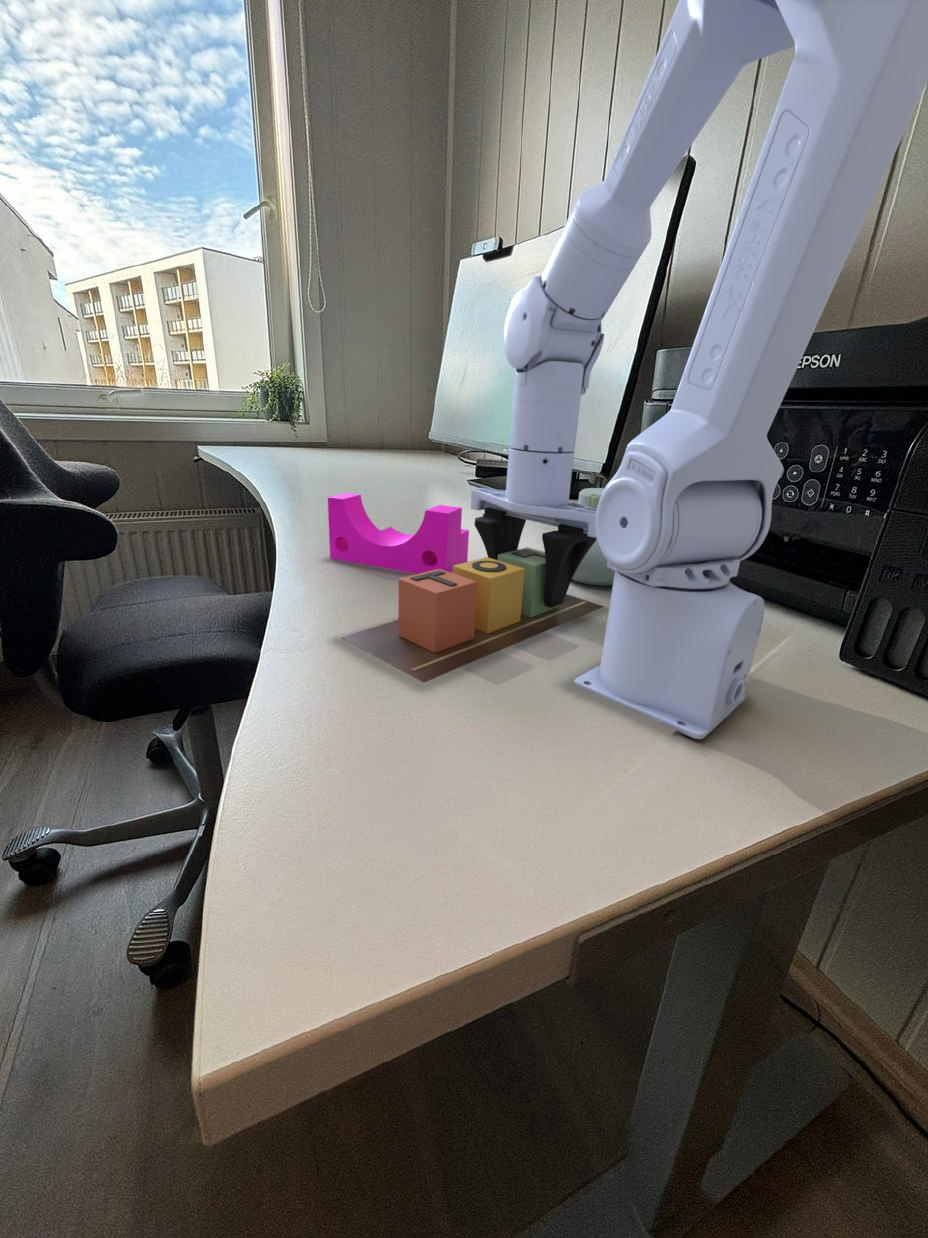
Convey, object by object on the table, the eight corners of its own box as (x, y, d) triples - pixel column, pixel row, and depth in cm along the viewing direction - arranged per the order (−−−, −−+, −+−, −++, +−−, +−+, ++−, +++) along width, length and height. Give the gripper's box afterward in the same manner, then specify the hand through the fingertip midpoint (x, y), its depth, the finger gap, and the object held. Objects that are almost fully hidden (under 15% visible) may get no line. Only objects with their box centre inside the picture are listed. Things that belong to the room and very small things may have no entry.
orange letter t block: (474, 638, 47) (478, 580, 45) (434, 653, 44) (437, 591, 42) (437, 622, 50) (439, 566, 48) (397, 635, 47) (398, 576, 45)
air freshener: (563, 562, 71) (572, 482, 67) (630, 570, 69) (644, 488, 66) (553, 589, 61) (564, 496, 58) (632, 599, 59) (648, 504, 56)
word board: (603, 609, 56) (603, 605, 56) (423, 686, 40) (423, 681, 40) (524, 584, 62) (524, 580, 62) (341, 641, 46) (341, 636, 46)
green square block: (559, 606, 55) (565, 556, 53) (530, 617, 52) (536, 564, 50) (523, 594, 58) (527, 545, 56) (494, 604, 55) (497, 553, 53)
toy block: (467, 567, 67) (470, 504, 65) (445, 581, 62) (448, 513, 59) (358, 549, 72) (357, 489, 70) (330, 560, 67) (327, 497, 64)
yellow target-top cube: (520, 621, 51) (525, 566, 49) (487, 634, 48) (491, 576, 46) (483, 607, 54) (487, 555, 52) (450, 618, 51) (452, 563, 49)
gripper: (639, 456, 48) (615, 607, 53) (507, 440, 57) (498, 570, 62) (594, 460, 43) (572, 625, 48) (458, 442, 52) (452, 582, 57)
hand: (527, 595), depth 55 cm, fingers open, 6 cm apart
